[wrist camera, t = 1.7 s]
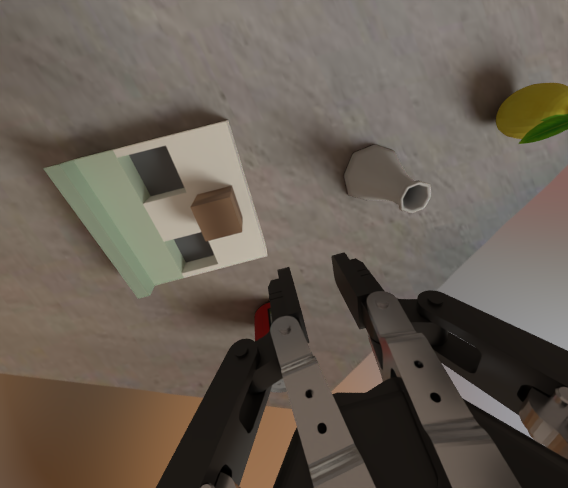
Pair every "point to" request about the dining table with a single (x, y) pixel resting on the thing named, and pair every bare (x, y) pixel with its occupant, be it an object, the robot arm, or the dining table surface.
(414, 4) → the dining table surface
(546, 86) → the lemon
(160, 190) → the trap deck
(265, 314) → the beverage can
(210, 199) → the walnut block
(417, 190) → the flask
